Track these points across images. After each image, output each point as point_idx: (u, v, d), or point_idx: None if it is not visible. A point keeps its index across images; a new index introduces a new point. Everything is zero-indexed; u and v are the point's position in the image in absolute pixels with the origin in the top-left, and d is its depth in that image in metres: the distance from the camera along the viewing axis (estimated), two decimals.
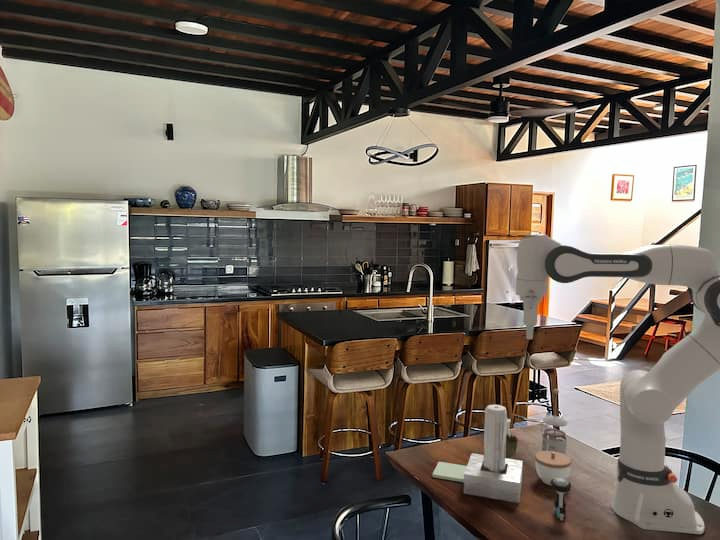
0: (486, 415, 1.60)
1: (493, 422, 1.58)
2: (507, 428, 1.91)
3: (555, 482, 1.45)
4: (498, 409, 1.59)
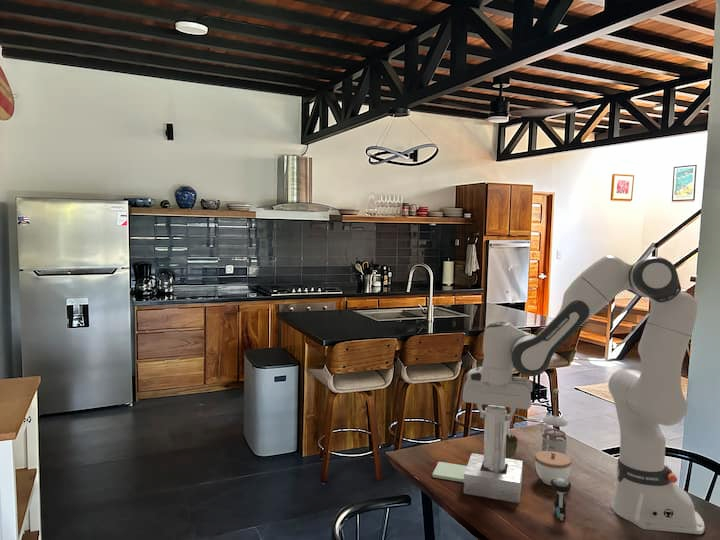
0: (486, 415, 1.60)
1: (493, 422, 1.58)
2: (507, 428, 1.91)
3: (555, 482, 1.45)
4: (498, 409, 1.59)
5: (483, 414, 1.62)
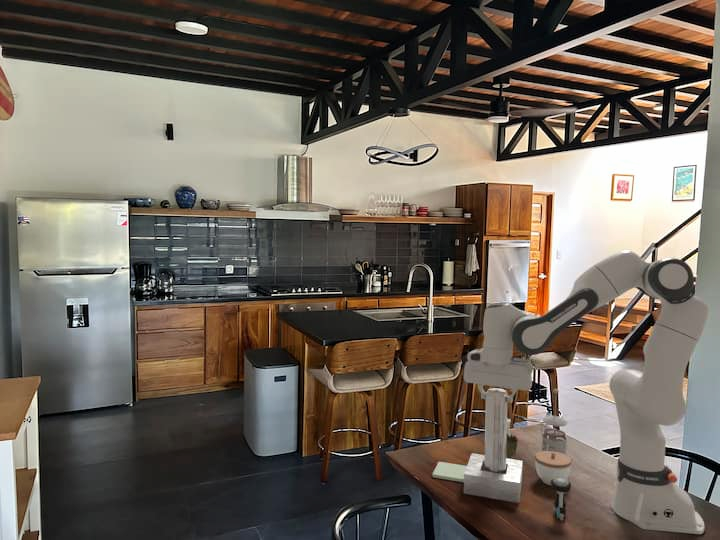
0: (486, 398, 1.60)
1: (492, 405, 1.58)
2: (507, 428, 1.91)
3: (555, 482, 1.45)
4: (498, 392, 1.59)
5: (484, 395, 1.62)
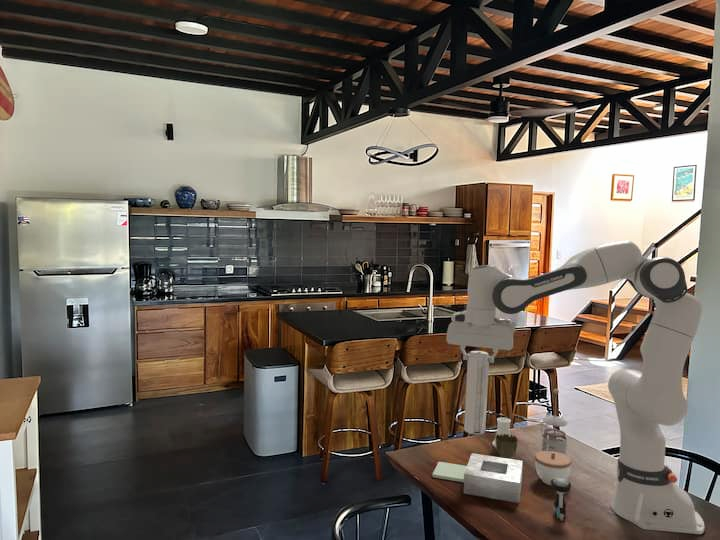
0: (469, 360, 1.63)
1: (475, 366, 1.61)
2: (507, 428, 1.91)
3: (555, 482, 1.45)
4: (481, 354, 1.62)
5: (466, 356, 1.64)
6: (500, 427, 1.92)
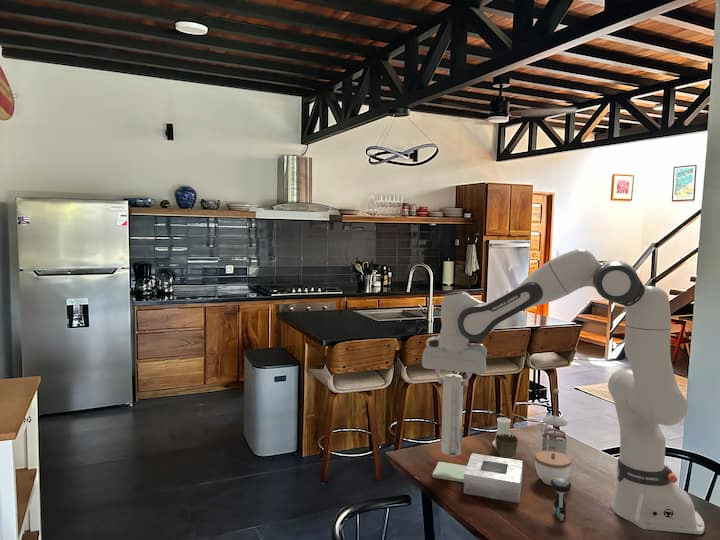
0: (444, 383, 1.68)
1: (450, 390, 1.66)
2: (507, 428, 1.91)
3: (555, 482, 1.45)
4: (455, 377, 1.67)
5: (441, 379, 1.69)
6: (500, 427, 1.92)
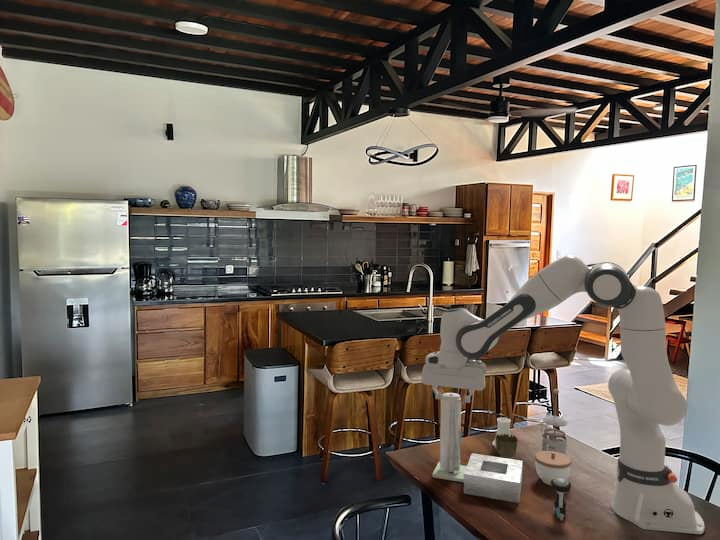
0: (441, 402, 1.69)
1: (448, 409, 1.67)
2: (507, 428, 1.91)
3: (555, 482, 1.45)
4: (452, 396, 1.67)
5: (438, 395, 1.70)
6: (500, 427, 1.92)
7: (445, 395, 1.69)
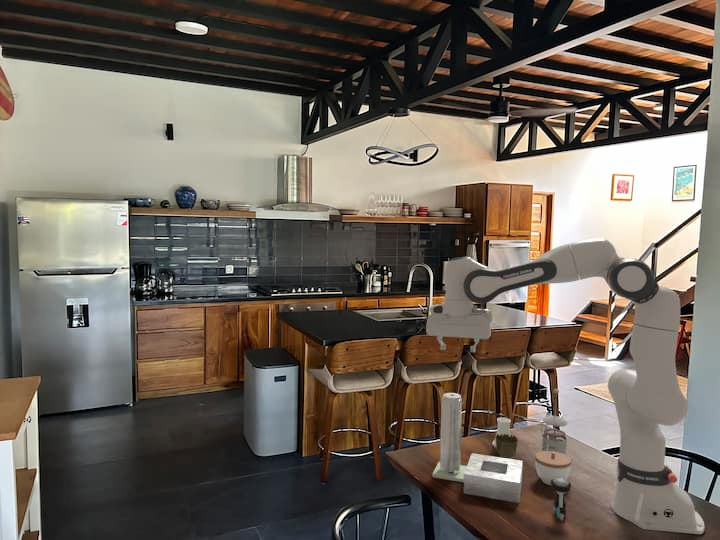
0: (442, 403, 1.68)
1: (448, 409, 1.67)
2: (507, 428, 1.91)
3: (555, 482, 1.45)
4: (453, 397, 1.67)
5: (443, 346, 1.68)
6: (500, 427, 1.92)
7: (446, 395, 1.69)
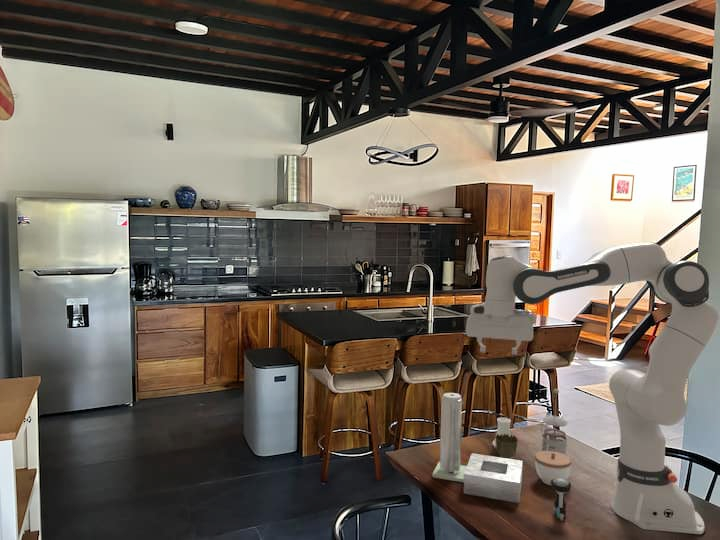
0: (442, 402, 1.69)
1: (448, 409, 1.67)
2: (507, 428, 1.91)
3: (555, 482, 1.45)
4: (453, 397, 1.67)
5: (483, 347, 1.63)
6: (500, 427, 1.92)
7: (446, 395, 1.69)
